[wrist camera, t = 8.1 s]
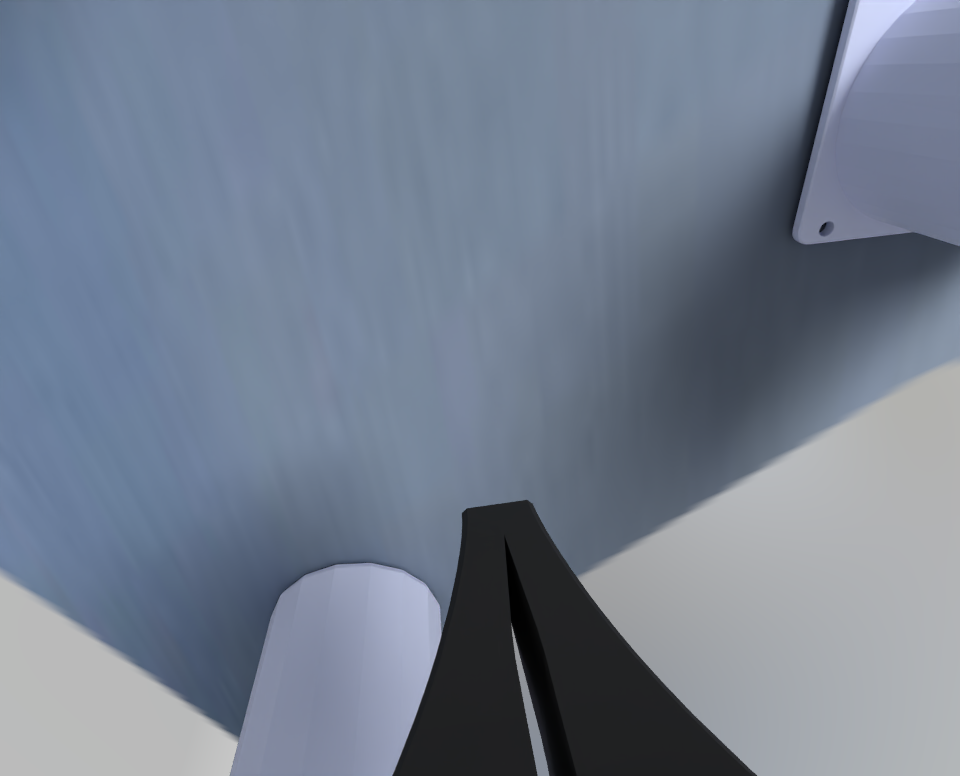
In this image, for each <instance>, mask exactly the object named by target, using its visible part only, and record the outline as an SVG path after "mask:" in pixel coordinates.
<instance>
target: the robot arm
mask: <svg viewBox="0 0 960 776" xmlns="http://www.w3.org/2000/svg"><path fill="white" fill-rule="evenodd" d="M825 222H826V227H825V229H824V230H823V231H822V232H820V233H819V229H820V228H821V226H822V225H823V224H824V223H825ZM911 232H916V233H919V234H922V235H925V236H929V237H932V238H935V239H938V240H941V241H944V242H947V243H951V244H954V245H957V246H960V0H849V4H848V8H847V13H846V17H845V21H844V25H843V29H842V33H841V37H840V41H839V45H838V49H837V53H836V57H835V61H834V65H833V69H832V73H831V77H830V81H829V85H828V89H827V93H826V97H825V101H824V105H823V110H822V114H821V118H820V122H819V126H818V130H817V134H816V138H815V142H814V146H813V150H812V154H811V158H810V162H809V166H808V170H807V174H806V178H805V182H804V186H803V190H802V194H801V198H800V202H799V207H798V211H797V215H796V219H795V223H794V227H793V234H792V235H793V237H794V239H795V240H796V241H798V242H800V243H802V244H817V243H825V242H834V241H843V240H851V239H860V238H868V237H877V236H885V235H894V234H902V233H911ZM511 623H512V627H513V631H514V635H515V638H516V642H517V646H518V650H519V654H520V658H521V662H522V665H523V669H524V673H525V676H526V681H527V685H528V688H529V692H530V696H531V699H532V704H533V708H534V711H535V715H536V719H537V723H538V727H539V730H540V734H541V738H542V743H543V747H544V752H545V756H546V760H547V765H548V771H549V776H757V775H756V774H755V773H753V772H752V771H751V770H750V769H749V768H748V767H747V766H746V765H745V764H744V763H743V762H742V761H741V760H740V759H739V758H738V757H737V756H736V755H735V754H734V753H733V752H731V751H730V749H728V748H727V747H726V746H725V745H724V744H723V743H722V742H721V741H720V740H719V739H718V738H717V737H716V736H715V735H714V734H713V733H712V732H711V731H710V730H709V729H708V728H707V727H706V726H705V725H703V723H702V722H700V721H699V720H698V719H697V718H696V717H695V716H694V715H693V714H692V713H691V712H690V711H689V710H688V709H687V708H686V707H685V705H684V704H683V703H682V702H681V701H680V700H679V699H678V698H677V697H676V696H675V695H674V694H673V693H672V692H671V691H670V690H669V689H668V688H667V687H666V686H665V685H664V683H663V682H662V681H661V680H660V679H659V678H658V677H657V676H656V675H655V674H654V672H653V671H652V670H651V669H650V668H649V667H648V666H647V665H646V664H645V662H644V661H643V660H642V659H641V658H640V657H639V656H638V655H637V653H636V652H635V651H634V650H633V649H632V648H631V646H630V645H629V644H628V643H627V642H626V641H625V639H624V638H623V637H622V636H621V635H620V633H619V632H618V631H617V630H616V628H615V627H614V626H613V625H612V623H611V622H610V621H609V620H608V619H607V617H606V616H605V615H604V613H603V612H602V611H601V610H600V608H599V607H598V606H597V604H596V603H595V602H594V600H593V599H592V598H591V596H590V595H589V594H588V592H587V591H586V590H585V588H584V587H583V585H582V584H581V582H580V581H579V580H578V578H577V577H576V575H575V574H574V573H573V571H572V570H571V568H570V567H569V565H568V564H567V562H566V561H565V559H564V558H563V557H562V555H561V553H560V552H559V550H558V549H557V547H556V545H555V544H554V542H553V541H552V539H551V537H550V536H549V534H548V532H547V531H546V529H545V527H544V525H543V524H542V522H541V520H540V518H539V516H538V514H537V512H536V510H535V508H534V506H533V504H532V503H531V502H529V501H528V500H524V501H517V502H510V503H502V504H495V505H488V506H481V507H474V508H467V509H466V510H465V511H464V512H463V513H462V539H461V548H460V555H459V561H458V568H457V573H456V578H455V582H454V587H453V592H452V597H451V601H450V606H449V610H448V614H447V618H446V621H445V625H444V628H443V632H442V636H441V639H440V643H439V646H438V650H437V654H436V657H435V660H434V663H433V667H432V670H431V673H430V676H429V679H428V682H427V685H426V688H425V691H424V694H423V697H422V699H421V702H420V705H419V708H418V711H417V714H416V716H415V719H414V722H413V724H412V727H411V730H410V732H409V735H408V737H407V740H406V742H405V745H404V748H403V750H402V753H401V755H400V758H399V760H398V763H397V766H396V768H395V770H394V773H393V775H392V776H537V771H536V765H535V760H534V755H533V750H532V745H531V739H530V734H529V729H528V724H527V718H526V713H525V709H524V703H523V697H522V692H521V687H520V681H519V676H518V670H517V665H516V660H515V653H514V645H513V637H512V627H511Z"/></svg>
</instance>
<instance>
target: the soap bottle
mask: <svg viewBox="0 0 960 776" xmlns="http://www.w3.org/2000/svg"><path fill="white" fill-rule="evenodd" d="M440 639H441V618H440V605H439V604H438V602H437V600H436V599H435V597H434V596H433V594H432V593H431V591H430V590H429V588H428V587H427V585H426V584H425V583H424V582H422V581H420V580H419V579H417V578H415V577H414V576H412V575H410V574H409V573H407V572H405V571H404V570H401V569H397V568H392V567H387V566H383V565H378V564H374V563H358V564H337V565H333V566H330V567H327V568H324V569H321V570H318V571H315V572H312V573H309V574H306V575H304V576H303V577H302V578H300V579H299V580H298V581H297V582H295V583H294V584H293V585H291V586H290V587H289V588H288V589H286V590H285V591H284V592H283V593H282V594H281V595H280V597H279V600H278V602H277V604H276V606H275V609H274V611H273V613H272V616H271V619H270V623H269V627H268V630H267V634H266V638H265V642H264V646H263V650H262V654H261V657H260V661H259V665H258V669H257V673H256V677H255V680H254V684H253V688H252V692H251V696H250V700H249V703H248V707H247V711H246V715H245V719H244V723H243V727H242V730H241V734H240V738H239V742H238V746H237V750H236V754H235V757H234V761H233V765H232V769H231V773H230V776H392V775H393V773H394V770H395V768H396V766H397V763H398V760H399V758H400V755H401V753H402V750H403V748H404V745H405V742H406V740H407V737H408V735H409V732H410V730H411V727H412V724H413V722H414V719H415V716H416V714H417V711H418V708H419V705H420V702H421V699H422V697H423V694H424V691H425V688H426V685H427V682H428V679H429V676H430V673H431V670H432V667H433V663H434V660H435V657H436V654H437V650H438V646H439V643H440Z"/></svg>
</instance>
